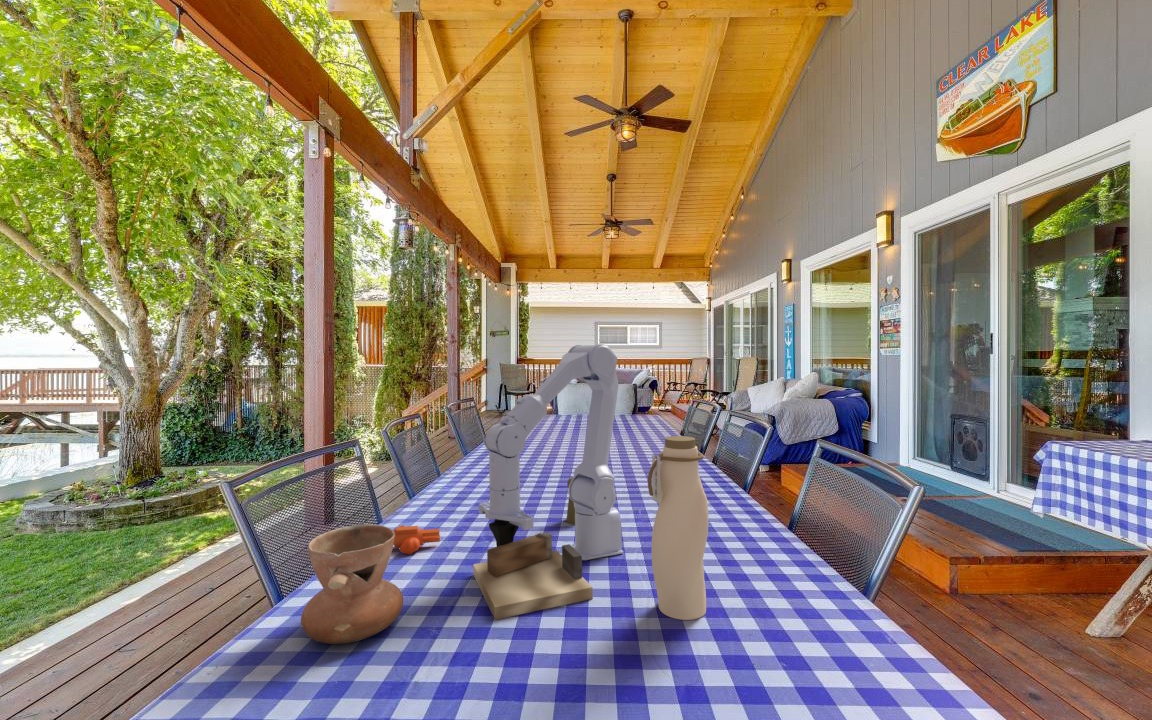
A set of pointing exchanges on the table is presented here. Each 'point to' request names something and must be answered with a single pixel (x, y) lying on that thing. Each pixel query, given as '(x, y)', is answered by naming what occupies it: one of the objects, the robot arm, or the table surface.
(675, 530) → the water bottle
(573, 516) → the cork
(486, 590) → the board
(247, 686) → the table surface
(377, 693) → the table surface
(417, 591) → the table surface
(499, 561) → the folding leg
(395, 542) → the orange blocky toy
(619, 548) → the robot arm
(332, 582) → the ceramic jug
